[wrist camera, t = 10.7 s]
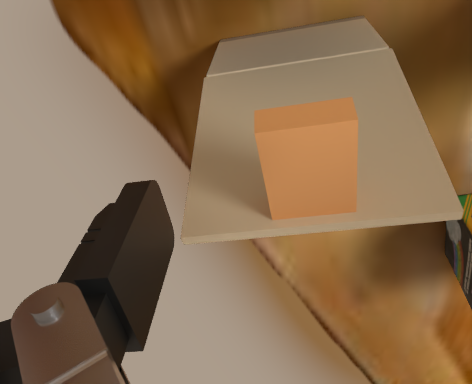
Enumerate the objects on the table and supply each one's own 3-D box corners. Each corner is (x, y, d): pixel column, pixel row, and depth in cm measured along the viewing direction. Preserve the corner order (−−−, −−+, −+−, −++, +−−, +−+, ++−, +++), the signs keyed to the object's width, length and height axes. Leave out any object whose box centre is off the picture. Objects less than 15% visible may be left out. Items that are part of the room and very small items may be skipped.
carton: (363, 15, 37) (389, 46, 29) (365, 161, 46) (385, 217, 37) (220, 39, 39) (206, 75, 31) (246, 174, 48) (241, 231, 39)
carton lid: (391, 56, 29) (399, -38, 25) (461, 219, 19) (494, 111, 15) (206, 84, 31) (182, 2, 27) (183, 244, 21) (141, 156, 17)
